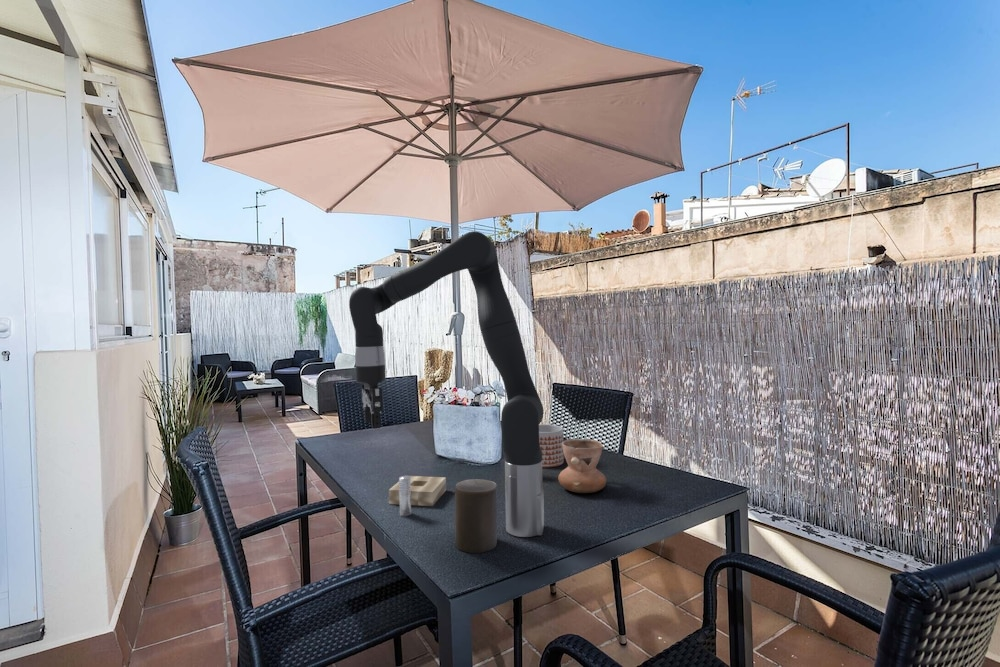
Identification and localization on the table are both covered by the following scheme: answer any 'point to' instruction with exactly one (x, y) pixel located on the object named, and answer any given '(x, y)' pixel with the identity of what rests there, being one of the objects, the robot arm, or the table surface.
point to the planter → (551, 445)
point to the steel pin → (405, 495)
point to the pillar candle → (476, 515)
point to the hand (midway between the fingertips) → (372, 425)
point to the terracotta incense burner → (582, 466)
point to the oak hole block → (421, 490)
